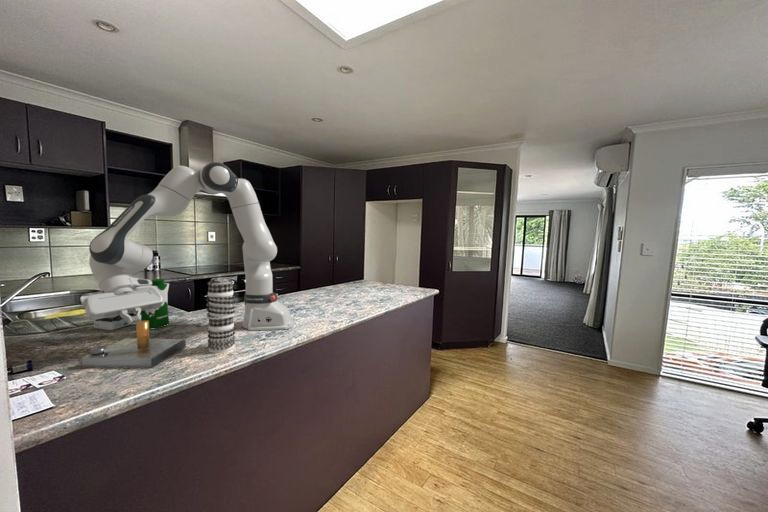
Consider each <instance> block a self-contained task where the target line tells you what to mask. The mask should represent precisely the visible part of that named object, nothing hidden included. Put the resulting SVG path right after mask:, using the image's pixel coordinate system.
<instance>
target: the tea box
mask: <svg viewBox="0 0 768 512" xmlns="http://www.w3.org/2000/svg"><path fill="white" fill-rule="evenodd" d="M128 315H130V316H131V317H132V316H136V314H134V313H128ZM140 317H141V312H140ZM134 324H135V325H136V323H132V324H129V323H128V321H127V320H125V319H123V318H121V316H120V315H117V316H112V317H107V318H102V319H97V320H93V327H94V329H99V330H107V331H115V330H117V329H121V328H124V327H128V326H132V325H134Z"/></svg>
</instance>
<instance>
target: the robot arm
mask: <svg viewBox="0 0 768 512" xmlns="http://www.w3.org/2000/svg"><path fill="white" fill-rule="evenodd" d="M198 192H199V193H203V194H206V195H213V196H214V195H219V194H223V195H224V196H225V197H226V198H227V200H228V203H229V205H230V209H231V211H232V215H233V217H234V222H235V224H236V226H237V229H238V230H239V233H240V234H241V237H242V239H243V244H242V249H241V250H242V257H243V258H242V259H243V267H244V274H245V276H244V277H245V293H244V297H243V298H244V299H243V300H244V306H245V307H244V308H245V309H244V315H243V319H242V324H241V327H243V328H244V329H247V330H248V331H250V332H251V331H253V332H255V331H272V330H273V331H275V330H276V331H277V330H279V331H280V330H287V329H290V328H292V327H293V326H295V324H296V323H297V320H296V319H295V317H291V312H290V309H289V308H288V307H287V306H286V305H284V304H283V303H281V302H280V301H278V295H279V294H278V293H275V292H274V291H273V288H274V287H273V285H274V284H273V272H272V267H271V261H273V260H274V259H275V258H276V256H277V253H278V246H277V245H276V243H275V241H274V239H273V236H272V234H271V232H270V229H269V227H268V226H267V224H266V222H265V218H264V215H263V212H262V210H261V209H262V208H261V205H260V202H259V200H258V197H257V194H256V191H255V190H254V187H253V186H252V184H251V182H250V181H249V180H247V179H246V178H238V176H237V175H236V174H235V173H234V172H233V171H232V170H231V168H229V166H227V165H226V164H224V163H222V162H218V161H214V162H213V161H212V162H209V163H207V164H206V165H204V166H203V167H202V168H201V169H199V170H194V169H192V168H191V167H189V166H185V165H176V166H175V167H173V168H172V169H171V170H169V171H168V173H167V174H166V175H165V176H164V177H163V178H162V179H161V180H160V182H159V183H158V185H157V186H156V187H155V188H154V189H153V190H152V191H150V192H149V193H147V194H142V195H140V196H138V197H137V198H135V200H133V201H132V202H131V203H130V204H129V205H128V206H127V207H126V208H125V209H124V210H123V211H122V212H121V214H120V215H118V216H117V218H116V219H114V221H112V222H111V223H110V225H108V227H107V228H106V229H104V230H102V232H100V233H99V234H97V235H96V236H95V237H94V238H92V240H91V241H90V243H89V246H88V247H89V253H90V256H89V261H88V263H89V268H90V270H91V273H92V276H93V277H94V279H95V280H96V281H97V283H98V288H99V290H100V291H95V292H87V293H84V294H83V295H81V296H80V298H79V301H80V302H81V304H82V305H83V306H84V312H85V315H86V318H87V319H88V320H91V321H94V320H97V319H102V318H107V317H112V316H117V315H120V316H121V318H123V319H125V320H127V321H128V323H129V324H132V323H136V322H138V321H141V317H140V312H141V311H143V310H148V309H153V308H158V307H160V306H161V305H162V303H163V297H162V295H161V294H160V292H159V291H158V289H157V288H156V287H154V286H151V285H152V280H151V279H145V278H138V277H132V276H133V275H137V274H138V273H141V272H142V271H143V270H145V269H147V268H148V267H149V266H151V265H152V262H153V260H154V252H153V250H152V249H151V248H150V246H148V245H145V244H142V243H140V242H137V241H135V240H132V239H129V237H130V235H132V233H134V231H135V230H136V229H137V228H138V226H139V225H141V224H142V222H144V221H145V220H146V219H147V218H150V217H153V216H161V217H173V216H174V217H175V216H178V215H180V214H182V213H183V212H184V211H185V210H186V209H187V208H188V207H189V204H190V203H191V202H192V200H193V198H194V196H196V194H197V193H198ZM128 313H134V314H136V316H132V317H131V316H130V315H128ZM132 325H133V324H132Z"/></svg>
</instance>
